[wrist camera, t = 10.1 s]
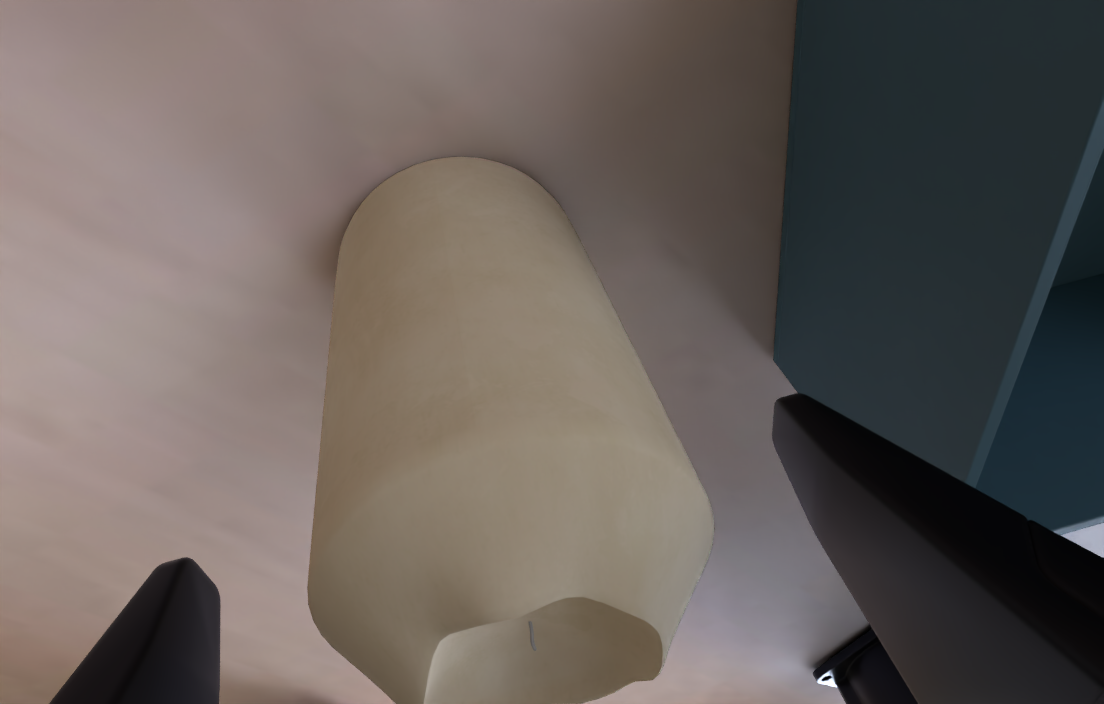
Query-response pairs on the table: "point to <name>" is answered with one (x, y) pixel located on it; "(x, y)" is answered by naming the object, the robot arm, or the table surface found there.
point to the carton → (953, 238)
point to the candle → (493, 456)
